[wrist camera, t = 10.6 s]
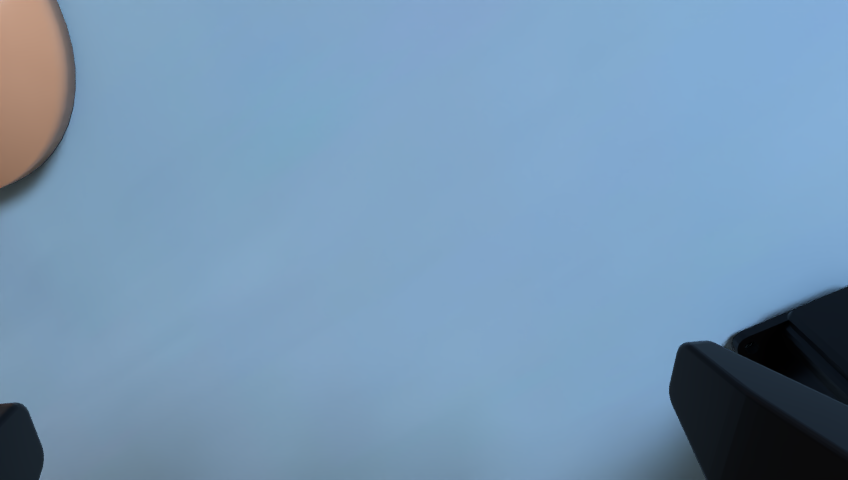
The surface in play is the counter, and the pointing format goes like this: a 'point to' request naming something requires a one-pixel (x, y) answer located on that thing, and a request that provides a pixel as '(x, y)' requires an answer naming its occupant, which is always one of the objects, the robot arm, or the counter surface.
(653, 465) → the counter surface
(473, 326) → the counter surface
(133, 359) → the counter surface
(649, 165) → the counter surface
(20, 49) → the peach round piece
